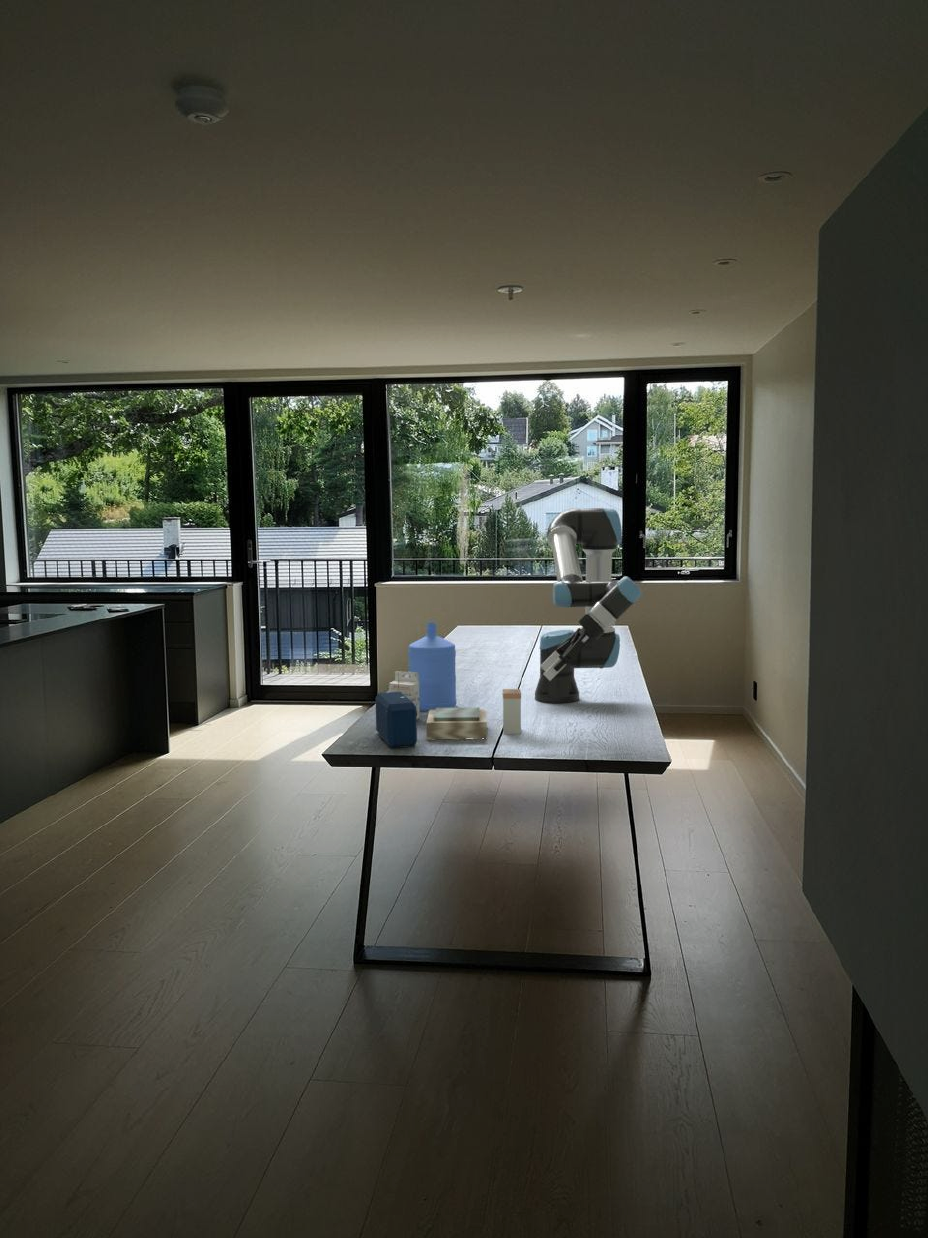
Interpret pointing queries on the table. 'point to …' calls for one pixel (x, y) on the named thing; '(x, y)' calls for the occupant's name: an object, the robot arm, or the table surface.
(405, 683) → the ink cartridge box
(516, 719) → the plate
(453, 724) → the birch tray
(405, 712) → the radio
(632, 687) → the table surface
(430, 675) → the water jug
